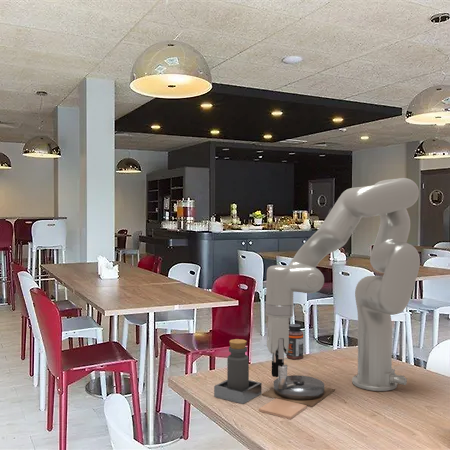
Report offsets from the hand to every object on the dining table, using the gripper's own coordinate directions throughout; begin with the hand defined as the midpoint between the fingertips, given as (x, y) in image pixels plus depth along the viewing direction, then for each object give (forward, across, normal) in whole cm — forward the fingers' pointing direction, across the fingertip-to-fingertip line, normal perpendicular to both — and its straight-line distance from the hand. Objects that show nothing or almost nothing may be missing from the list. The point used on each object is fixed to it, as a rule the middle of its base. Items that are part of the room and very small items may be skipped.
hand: (277, 375), depth 140 cm
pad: (+5, +12, 0) cm, 13 cm away
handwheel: (+5, 0, +6) cm, 8 cm away
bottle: (+5, +1, -11) cm, 12 cm away
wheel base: (+5, 0, +6) cm, 8 cm away
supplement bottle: (+4, -35, +11) cm, 37 cm away
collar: (+5, +1, -11) cm, 12 cm away
